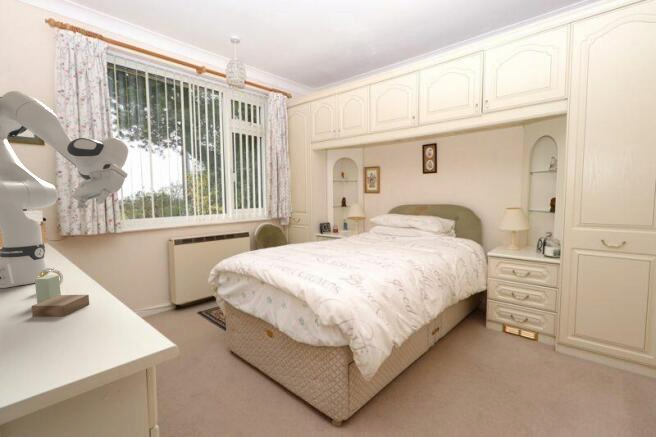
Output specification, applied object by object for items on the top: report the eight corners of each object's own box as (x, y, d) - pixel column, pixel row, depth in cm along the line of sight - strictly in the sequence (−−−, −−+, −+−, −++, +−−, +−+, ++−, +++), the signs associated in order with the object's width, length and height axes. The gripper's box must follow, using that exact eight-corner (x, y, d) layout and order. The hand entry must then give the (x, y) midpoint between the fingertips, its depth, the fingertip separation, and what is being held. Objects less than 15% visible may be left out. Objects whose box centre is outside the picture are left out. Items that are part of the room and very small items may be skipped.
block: (37, 304, 97) (34, 279, 96) (48, 299, 101) (46, 275, 100) (50, 304, 97) (47, 278, 96) (61, 299, 101) (58, 275, 100)
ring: (38, 293, 107) (36, 270, 107) (37, 291, 109) (34, 269, 109) (65, 288, 113) (62, 266, 112) (62, 286, 115) (60, 265, 114)
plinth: (32, 316, 88) (31, 305, 87) (60, 304, 97) (59, 295, 96) (64, 315, 88) (63, 305, 87) (89, 304, 97) (88, 294, 96)
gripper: (76, 176, 118) (60, 207, 111) (115, 162, 111) (101, 194, 104) (93, 185, 123) (78, 215, 116) (131, 173, 116) (118, 204, 109)
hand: (89, 205), depth 110 cm, fingers open, 8 cm apart
